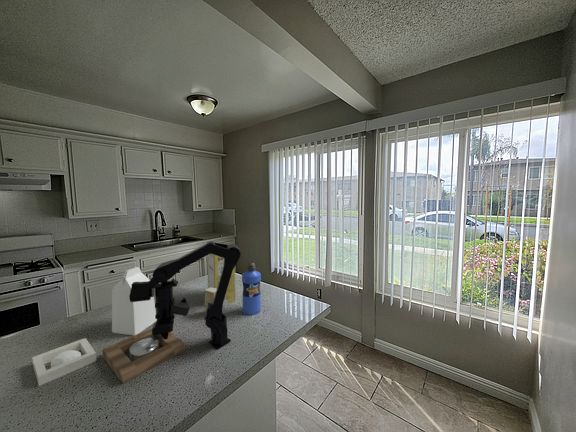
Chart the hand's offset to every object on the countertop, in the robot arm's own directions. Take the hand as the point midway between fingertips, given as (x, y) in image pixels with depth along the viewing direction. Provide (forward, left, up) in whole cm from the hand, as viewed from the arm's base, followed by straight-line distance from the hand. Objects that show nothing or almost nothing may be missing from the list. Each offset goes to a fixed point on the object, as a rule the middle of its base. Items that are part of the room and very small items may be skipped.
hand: (166, 338), depth 87 cm
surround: (+5, +6, -5) cm, 9 cm away
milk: (+28, +1, -5) cm, 28 cm away
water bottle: (-2, -41, -5) cm, 42 cm away
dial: (+5, +3, -5) cm, 7 cm away
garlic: (+20, +24, -5) cm, 32 cm away
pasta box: (+23, -41, -5) cm, 48 cm away
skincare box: (+11, -27, -5) cm, 30 cm away
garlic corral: (+21, +25, -5) cm, 33 cm away
